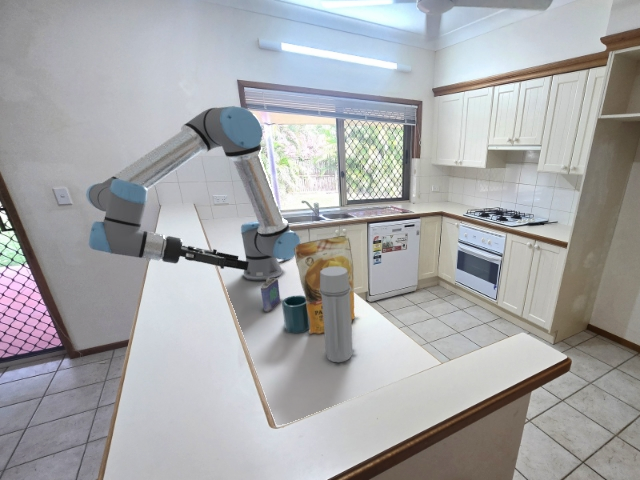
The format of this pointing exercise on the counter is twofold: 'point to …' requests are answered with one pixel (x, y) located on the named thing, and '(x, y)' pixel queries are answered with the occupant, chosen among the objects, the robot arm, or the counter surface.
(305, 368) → the counter surface
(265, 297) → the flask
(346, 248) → the pancake mix bag
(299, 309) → the coffee cup
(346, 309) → the water bottle
